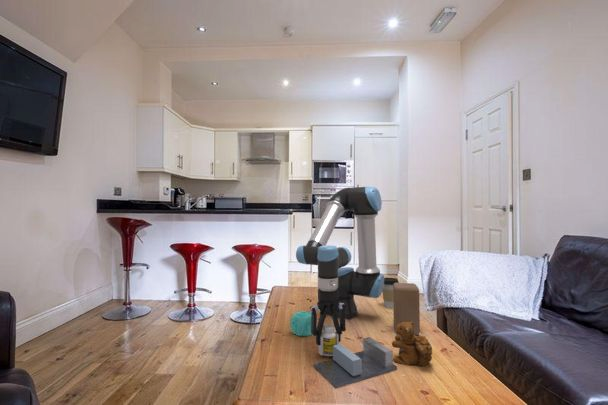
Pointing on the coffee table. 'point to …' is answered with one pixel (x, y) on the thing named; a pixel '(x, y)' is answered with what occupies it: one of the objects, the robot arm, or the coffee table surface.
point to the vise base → (372, 364)
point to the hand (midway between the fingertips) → (328, 352)
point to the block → (406, 305)
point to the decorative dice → (301, 323)
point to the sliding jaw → (347, 359)
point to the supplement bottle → (328, 339)
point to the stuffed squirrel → (411, 346)
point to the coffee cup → (388, 291)
